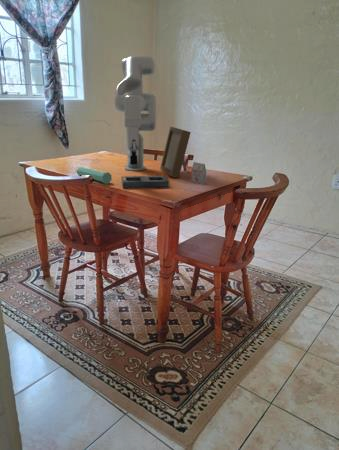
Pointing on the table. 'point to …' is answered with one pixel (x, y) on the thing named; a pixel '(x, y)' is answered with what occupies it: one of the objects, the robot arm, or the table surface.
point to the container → (95, 174)
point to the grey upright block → (198, 173)
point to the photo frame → (175, 152)
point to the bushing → (133, 164)
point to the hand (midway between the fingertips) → (133, 162)
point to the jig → (145, 182)
